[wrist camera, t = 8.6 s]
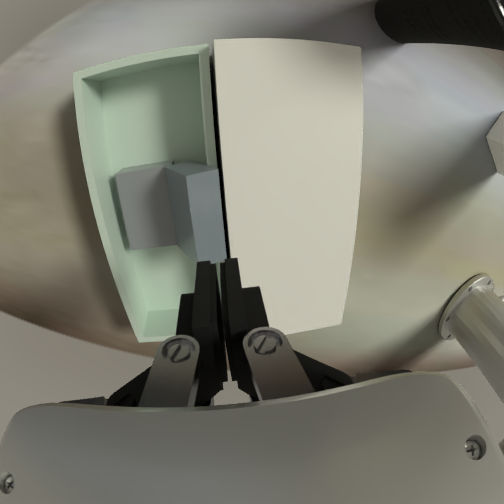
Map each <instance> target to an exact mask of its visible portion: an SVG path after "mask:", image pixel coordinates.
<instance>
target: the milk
mask: <svg viewBox="0 0 504 504" xmlns="http://www.w3.org/2000/svg"><path fill="white" fill-rule="evenodd" d="M486 139H487V142H488V145H489V148H490V151H491V154H492V157H493V160H494V163H495V166H496V170H497V172H498V173H499V174H502V175H504V111H503V112H502V114H501V115H500V117H499V118H498V120H497V121H496V123H495V124H494V126H493V127H492V128H491V130H490V131H489V133H488V134H487V135H486Z"/></svg>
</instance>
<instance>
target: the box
mask: <svg viewBox="0 0 504 504" xmlns="http://www.w3.org/2000/svg"><path fill="white" fill-rule="evenodd" d="M73 85H74V98H75V108H76V117H77V125H78V133H79V140H80V146H81V152H82V158H83V164H84V169H85V174H86V179H87V184H88V188H89V193H90V197H91V202H92V206H93V210H94V214H95V218H96V221H97V225H98V229H99V233H100V236H101V240H102V243H103V246H104V250H105V253H106V256H107V259H108V262H109V266H110V269H111V272H112V275H113V278H114V280H115V283H116V286H117V289H118V292H119V294H120V297H121V300H122V302H123V305H124V308H125V310H126V313H127V315H128V318H129V320H130V323H131V325H132V328H133V330H134V332H135V335H136V337H137V339H138V342H154V341H164V340H166V339H168V338H169V337H172V336H175V335H176V327H177V319H178V312H179V305H180V298H181V294H187V293H194V290H195V279H196V268H197V266H196V265H195V264H194V263H193V262H192V261H191V260H190V258H189V257H188V256H187V255H186V254H185V253H184V252H183V251H182V250H181V249H180V248H179V246H178V245H173V246H164V247H155V248H146V249H138V250H131V247H130V243H129V239H128V235H127V230H126V226H125V221H124V217H123V212H122V207H121V203H120V198H119V192H118V187H117V181H116V176H115V174H116V173H117V172H119V171H120V170H121V169H122V168H126V167H132V166H138V165H144V164H151V163H157V162H164V161H172V160H173V161H174V164H178V163H183V162H187V161H195V162H198V163H201V164H205V165H208V166H211V167H214V168H217V159H216V147H215V135H214V122H213V109H212V95H211V80H210V64H209V47H208V44H202V45H193V46H185V47H177V48H171V49H164V50H159V51H153V52H148V53H143V54H138V55H134V56H129V57H125V58H121V59H117V60H113V61H110V62H106V63H103V64H99V65H96V66H93V67H89V68H86V69H83V70H80V71H77V72H74V73H73ZM223 262H225V260H223V261H220V262H217V263H216V269H217V276H218V283H219V290H220V297H221V283H220V263H223Z"/></svg>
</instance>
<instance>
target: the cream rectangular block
mask: <svg viewBox="0 0 504 504" xmlns="http://www.w3.org/2000/svg"><path fill="white" fill-rule="evenodd" d="M212 59H213V75H214V91H215V105H216V119H217V132H218V145H219V157H220V169H221V180H222V191H223V202H224V213H225V223H226V233H227V243H228V253H229V258H238V265H239V271H240V278H241V285H242V288H247V287H256V286H259V287H260V290H261V294H262V298H263V302H264V306H265V310H266V315H267V319H268V323H269V327H272V328H275V329H278V330H280V331H281V332H283V333H284V335H286V334H292V333H297V332H303V331H308V330H314V329H319V328H324V327H329V326H334V325H339V324H341V322H342V317H343V312H344V306H345V301H346V295H347V289H348V283H349V277H350V271H351V264H352V257H353V250H354V242H355V234H356V225H357V216H358V205H359V194H360V181H361V165H362V142H363V77H362V55H361V47H357V46H351V45H344V44H338V43H330V42H322V41H312V40H300V39H282V38H236V39H218V40H214V43H213V53H212Z"/></svg>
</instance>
